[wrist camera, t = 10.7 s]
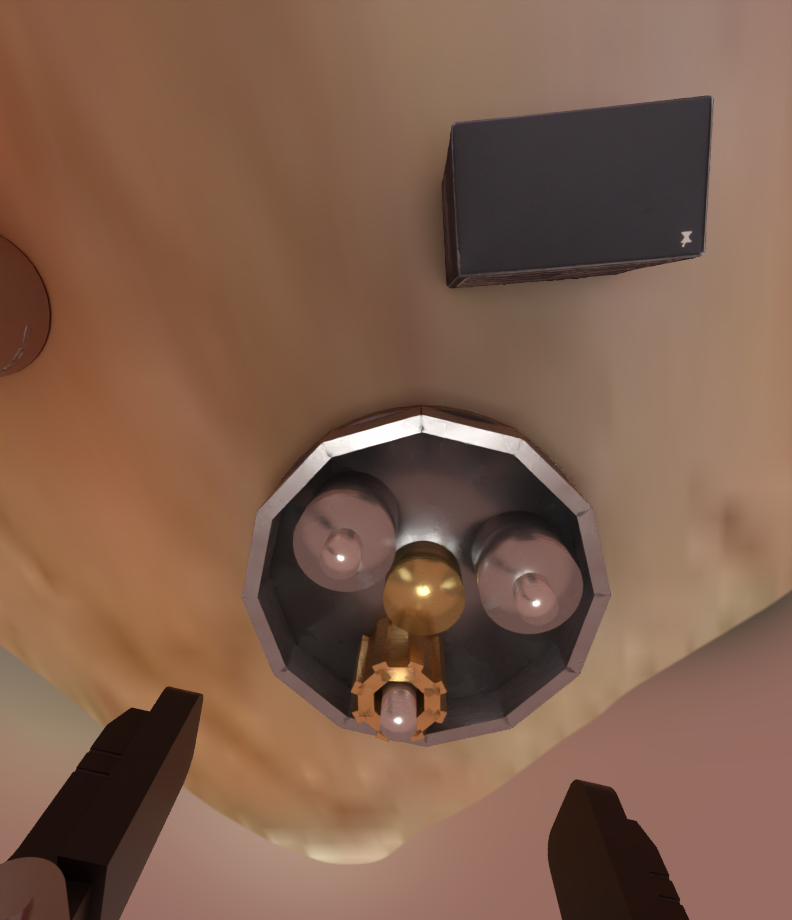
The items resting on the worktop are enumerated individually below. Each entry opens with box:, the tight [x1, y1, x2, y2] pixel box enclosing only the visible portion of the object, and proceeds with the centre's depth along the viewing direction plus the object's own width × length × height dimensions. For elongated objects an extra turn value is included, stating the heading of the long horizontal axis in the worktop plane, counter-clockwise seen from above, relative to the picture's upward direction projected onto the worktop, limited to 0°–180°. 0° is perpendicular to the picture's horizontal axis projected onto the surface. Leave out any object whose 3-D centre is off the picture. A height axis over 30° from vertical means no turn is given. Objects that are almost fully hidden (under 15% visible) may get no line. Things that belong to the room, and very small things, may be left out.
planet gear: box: [351, 617, 447, 742], centre depth 37 cm, size 6×6×5 cm
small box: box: [442, 96, 714, 288], centre depth 27 cm, size 11×6×10 cm, turn 95°
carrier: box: [242, 406, 611, 747], centre depth 35 cm, size 23×23×8 cm
